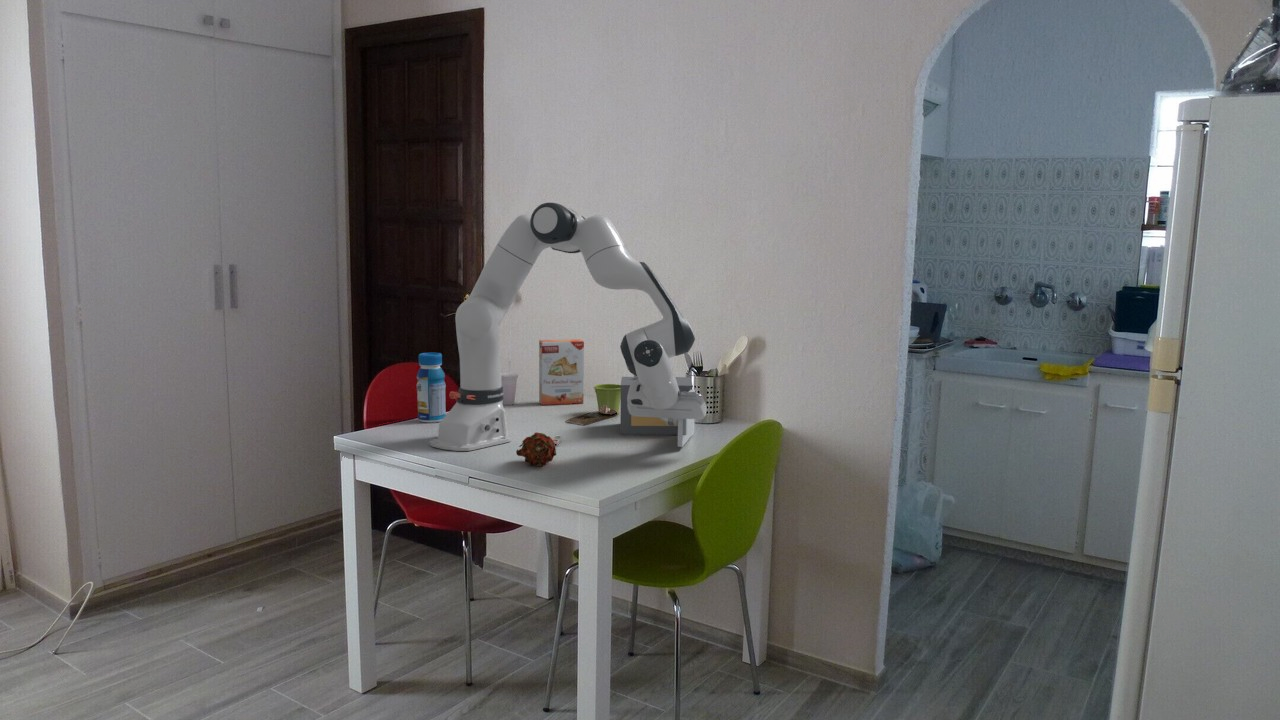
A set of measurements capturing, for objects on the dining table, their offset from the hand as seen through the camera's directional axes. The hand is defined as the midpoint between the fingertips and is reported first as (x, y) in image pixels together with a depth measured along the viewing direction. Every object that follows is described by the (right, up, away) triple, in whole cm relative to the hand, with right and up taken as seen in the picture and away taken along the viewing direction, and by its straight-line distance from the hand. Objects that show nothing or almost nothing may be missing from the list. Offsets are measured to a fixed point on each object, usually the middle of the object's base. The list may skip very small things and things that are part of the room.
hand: (672, 423), depth 242 cm
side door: (+4, -5, +7) cm, 10 cm away
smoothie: (-51, +2, +59) cm, 78 cm away
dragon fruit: (-34, -9, -15) cm, 38 cm away
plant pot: (-18, 0, +45) cm, 48 cm away
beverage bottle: (-71, -2, +34) cm, 78 cm away
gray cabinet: (-4, -3, +24) cm, 24 cm away
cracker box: (-34, +2, +61) cm, 70 cm away
